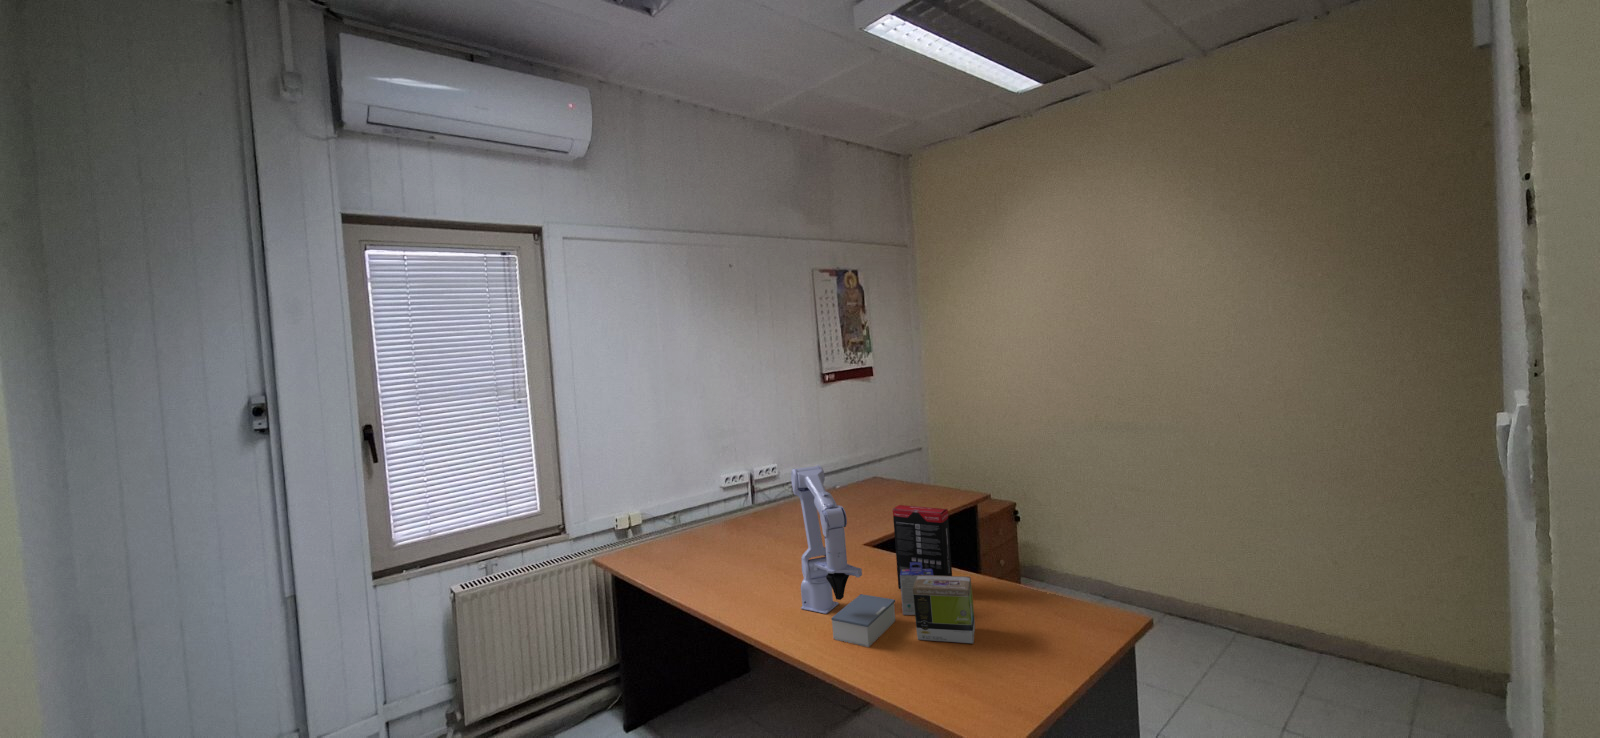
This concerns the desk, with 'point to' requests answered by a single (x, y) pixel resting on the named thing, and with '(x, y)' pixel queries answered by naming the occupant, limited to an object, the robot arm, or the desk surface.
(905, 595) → the ink cartridge box
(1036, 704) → the desk surface
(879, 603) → the box lid
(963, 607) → the tea box
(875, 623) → the storage box
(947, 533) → the graphics card box
